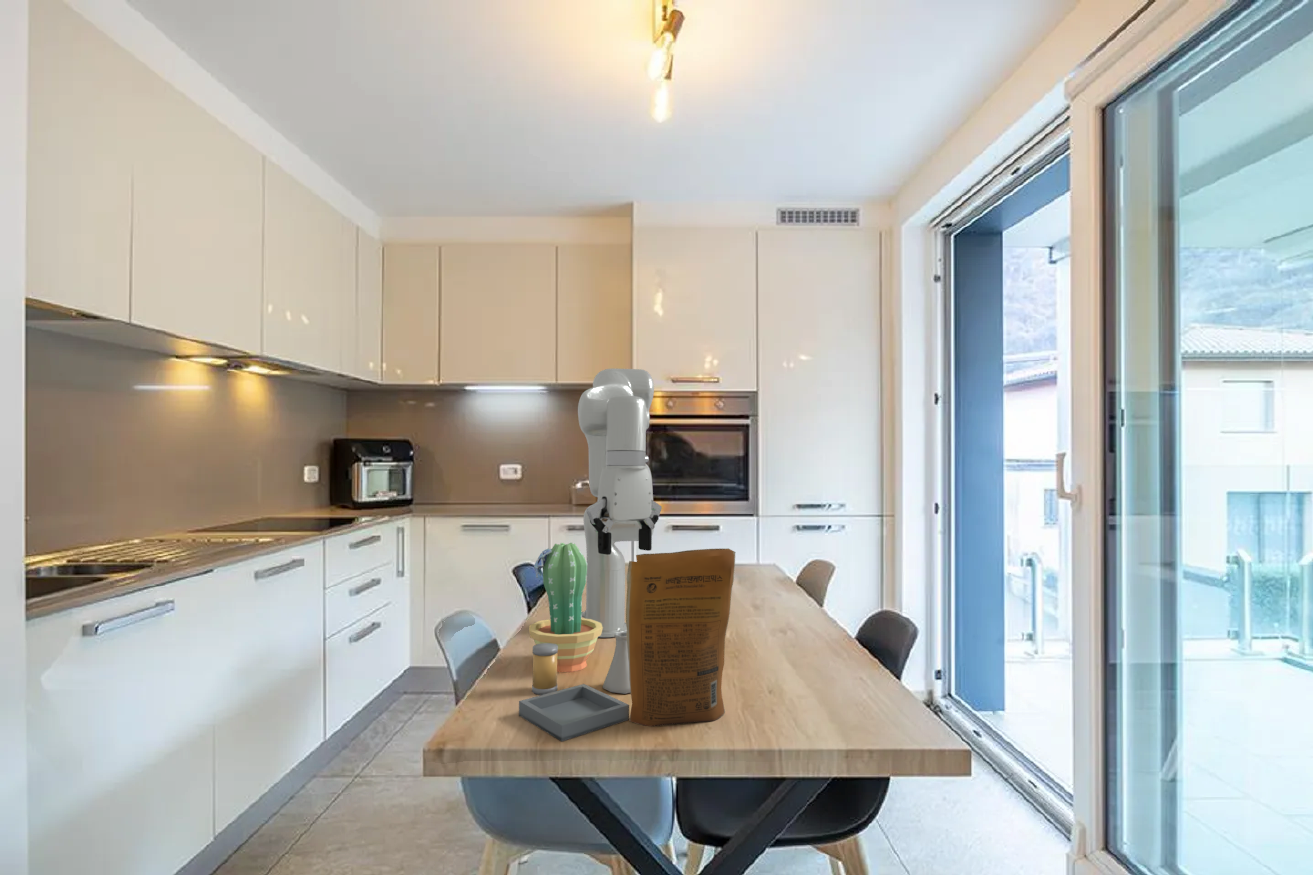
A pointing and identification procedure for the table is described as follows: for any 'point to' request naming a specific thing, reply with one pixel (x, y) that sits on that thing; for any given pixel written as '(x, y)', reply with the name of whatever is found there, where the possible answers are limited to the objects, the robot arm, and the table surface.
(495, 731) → the table surface
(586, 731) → the tray
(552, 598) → the potted cactus
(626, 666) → the flask
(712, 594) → the pancake mix bag
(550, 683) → the fuse
